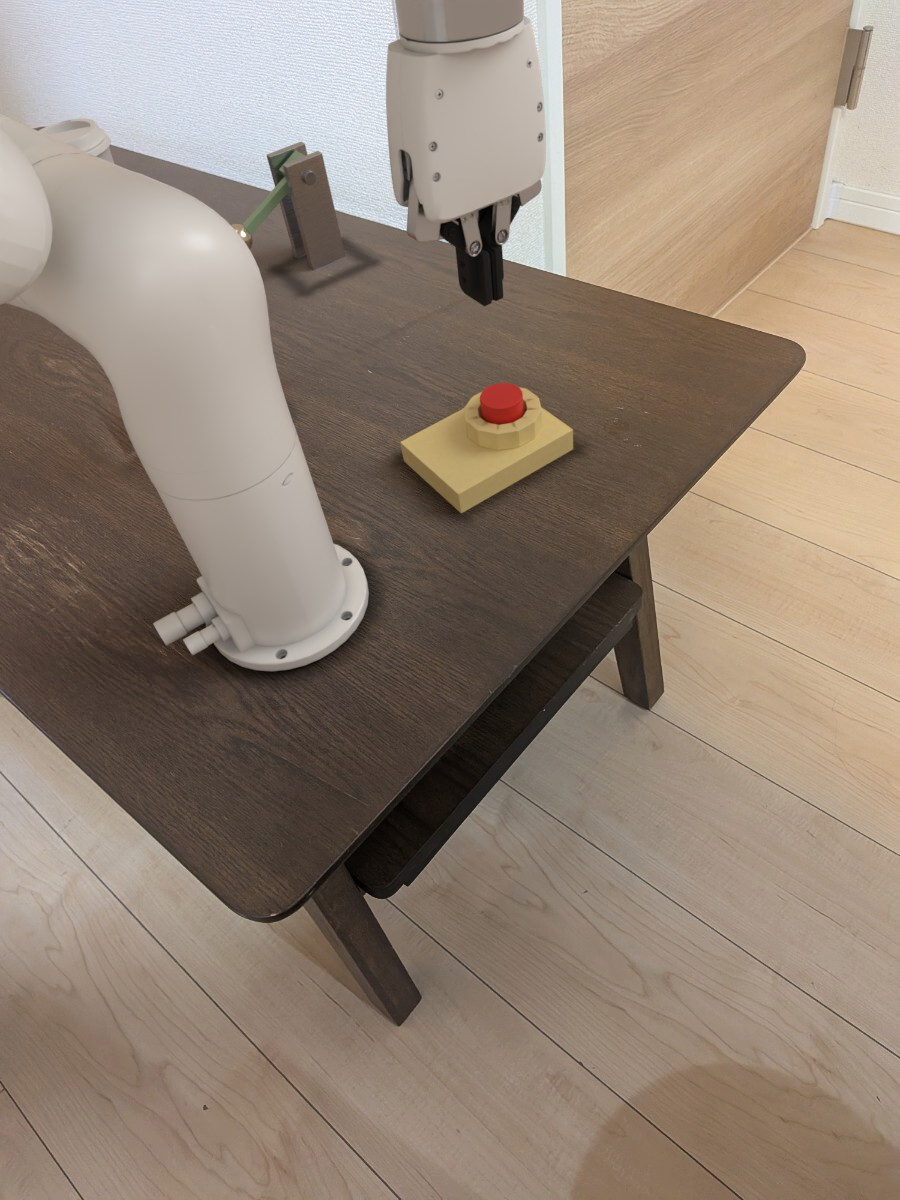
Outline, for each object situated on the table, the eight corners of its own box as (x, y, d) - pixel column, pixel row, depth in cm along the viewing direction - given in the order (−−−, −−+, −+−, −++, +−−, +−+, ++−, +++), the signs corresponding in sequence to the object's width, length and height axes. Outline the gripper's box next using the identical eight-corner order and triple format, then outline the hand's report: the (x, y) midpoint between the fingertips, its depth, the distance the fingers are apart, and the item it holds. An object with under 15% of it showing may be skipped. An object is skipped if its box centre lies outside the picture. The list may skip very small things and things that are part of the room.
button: (498, 431, 69) (496, 414, 67) (473, 412, 71) (471, 395, 69) (532, 412, 70) (531, 395, 68) (506, 394, 72) (505, 377, 70)
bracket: (304, 292, 95) (273, 178, 85) (274, 268, 100) (241, 158, 90) (370, 263, 98) (347, 149, 88) (338, 241, 102) (312, 130, 93)
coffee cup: (164, 235, 110) (116, 113, 98) (135, 272, 104) (80, 146, 92) (101, 238, 112) (46, 118, 100) (68, 274, 106) (6, 151, 94)
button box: (461, 513, 68) (455, 477, 65) (403, 461, 73) (396, 425, 70) (573, 449, 71) (573, 412, 68) (510, 403, 77) (507, 367, 74)
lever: (243, 265, 92) (224, 245, 89) (232, 255, 93) (212, 235, 91) (322, 176, 91) (304, 153, 88) (308, 168, 93) (291, 145, 90)
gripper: (522, -34, 53) (530, 245, 67) (319, 27, 48) (373, 314, 62) (599, -18, 48) (591, 278, 62) (384, 51, 44) (427, 354, 58)
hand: (482, 295), depth 62 cm, fingers closed
